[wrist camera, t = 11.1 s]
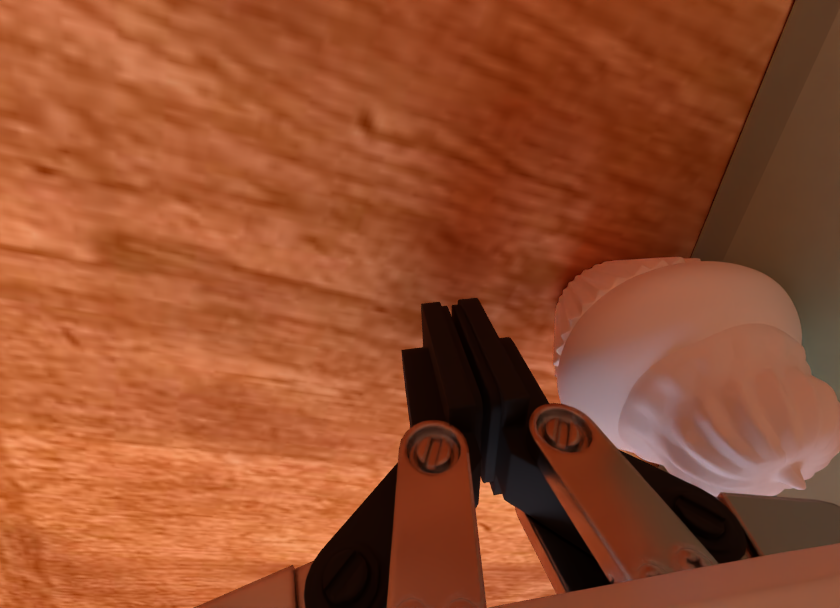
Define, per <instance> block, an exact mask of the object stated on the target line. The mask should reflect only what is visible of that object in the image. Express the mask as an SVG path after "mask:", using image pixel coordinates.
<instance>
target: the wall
mask: <svg viewBox="0 0 840 608" xmlns="http://www.w3.org/2000/svg"><path fill="white" fill-rule="evenodd" d="M691 258H698V259H700V261H717V262H726V263H733V264H737V265H742V266H745V267H749V268H752V269H754V270H757V271H759V272H761V273H764V274H765V275H767V276H769V277H770V278H772V279H773V280H774V281H776V282H777V283H778V284H779V285H780V286H781V287H782V288H783V289H784V290H785V291H786V292H787V294H788V295H789V297H790V298H791V300H792V302H793V304H794V306H795V308H796V310H797V313H798V316H799V319H800V324H801V329H802V344H801V345H802V346H803V347H804V350H805V354H806V362H807V363H808V365H809V366H810V369H811V375H812V376H814V377H816V378H818V379H820V380H822V381H824V382H826V383H827V384H828V385H829V386H830V387H832V388H833V390H834V392H835V394H836V396H837V400H838V402H839V403H840V0H795V3H794V5H793V7H792V10H791V12H790V15H789V17H788V20H787V22H786V25H785V27H784V30H783V32H782V35H781V37H780V39H779V42H778V44H777V47H776V49H775V52H774V54H773V57H772V59H771V62H770V64H769V67H768V69H767V71H766V74H765V76H764V79H763V81H762V84H761V86H760V89H759V91H758V94H757V96H756V99H755V101H754V103H753V106H752V108H751V111H750V113H749V116H748V118H747V121H746V123H745V126H744V128H743V131H742V133H741V135H740V138H739V140H738V143H737V145H736V148H735V150H734V153H733V155H732V158H731V160H730V162H729V165H728V167H727V170H726V172H725V175H724V177H723V180H722V182H721V185H720V187H719V190H718V192H717V194H716V197H715V199H714V202H713V204H712V207H711V209H710V212H709V214H708V217H707V219H706V222H705V224H704V226H703V229H702V231H701V234H700V236H699V239H698V241H697V244H696V246H695V249H694V251H693V254H692V256H691ZM804 481H805V483H806V488H805V490H798V489H795V488H791V489H784V490H783V491H782V492H781V493H779V494H777V495H776V496H777V497H790V498H803V499H816V500H821V501H826V502H830V503H834V504H836V505H838V506H840V451H839V453H838V454H837V455H835V456H834V457H833V458H832V459H831V461H830V463H829V464H828V465H827V466H826V467H825V468H823V469H822V470H820V471H818V472H815V474H814V476H813V477H812V478H810V479H807V480H804Z"/></svg>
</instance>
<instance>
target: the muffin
mask: <svg viewBox="0 0 840 608" xmlns="http://www.w3.org/2000/svg"><path fill="white" fill-rule="evenodd" d="M801 344H802V329H801V324H800V319H799V316H798V313H797V310H796V308H795V306H794V304H793V302H792V300H791V298H790V297H789V295H788V294H787V292H786V291H785V290H784V289H783V288H782V287H781V286H780V285H779V284H778V283H777V282H776V281H774V280H773V279H772V278H770V277H769V276H767V275H765V274H764V273H761V272H759V271H757V270H754V269H752V268H749V267H745V266H742V265H737V264H733V263H726V262H717V261H700V259H698V258H682V257H664V258H646V259H630V260H613V261H605V262H603V263H602V264H595V265H594V266H593V267H592V268H591V269H589V270H584V271H583V272H582V274H581V275H576V276H575V278H574V280H573V281H571V282H569V283H568V287H567V288H565V289H564V290H563V294H562V295H561V296H560V297H559V303H558V304H557V305H556V312H555V327H554V351H553V364H554V365H555V377H557V387H558V393H559V398H560V401H561V404H565V405H568V406H571V407H574V408H576V409H578V410H580V411H582V412H583V413H585V414H586V415H587V416H588V417H589V418H590V419H591V420H593V422H594V423H595V424H596V425H597V426H598V427H599V428H600V429H601V431H602V432H603V433H604V434H605V435H606V436H607V437H608V438H609V440H610V441H611V442H612V443H613V444H614V445H615V446H616V448H618V449H621V450H625V451H629V452H633V453H635V454H636V455H637V456H639V457H640V458H642V459H643V460H646V461H649V462H653V463H656V464H660V465H663V466H664V467H665V468H666V470H667V471H668V472H669V473H670V474H671V475H673V476H676V477H678V478H680V479H682V480H684V481H686V482H688V483H690V484H693V485H695V486H697V487H699V488H701V489H703V490H704V491H706V492H708V493H709V494H711V495H713V496H715V497H717V496H718V495H719V493H720V492H725V493H738V494H751V495H764V496H775V495H777V494H779V493H781V492H782V491H783V490H784V489H791V488H795V489H798V490H805V488H806V483H805V481H804V480H807V479H810V478H812V477H813V476H814V474H815V472H818V471H820V470H822V469H823V468H825V467H826V466H827V465H828V464H829V463H830V461H831V459H832V458H833V457H834V456H835V455H837V454H838V453H839V451H840V403H839V402H838V400H837V396H836V394H835V392H834V390H833V388H832V387H830V386H829V385H828V384H827V383H826V382H824V381H822V380H820V379H818V378H816V377H814V376H812V375H811V369H810V366H809V365H808V363H807V362H806V354H805V350H804V347H803V346H802V345H801Z"/></svg>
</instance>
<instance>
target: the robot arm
mask: <svg viewBox="0 0 840 608" xmlns="http://www.w3.org/2000/svg"><path fill="white" fill-rule="evenodd" d="M421 314H422V332H423V347H422V348H414V349H406V350H402V361H403V371H404V381H405V389H406V397H407V405H408V413H409V420H410V429H409V430H408V431H407V432H406V433H405V435H404V436H403V438H402V439H401V443H400V447H399V456H398V463H397V464H396V465H395V466H394V468H393V469H392V470H391V471H390V472H389V473H388V474H387V476H386V477H385V478H384V479H383V480H382V481H381V482H380V484H379V485H378V486H377V487H376V488H375V489H374V490H373V492H372V493H371V494H370V495H369V496H368V497H367V499H366V500H365V501H364V502H363V503H362V504H361V505H360V507H359V508H358V509H357V510H356V511H355V512H354V513H353V515H352V516H351V517H350V518H349V519H348V520H347V521H346V523H345V524H344V525H343V526H342V527H341V528H340V530H339V531H338V532H337V533H336V534H335V535H334V536H333V538H332V539H331V540H330V541H329V542H328V543H327V544H326V546H325V547H324V548H323V549H322V550H321V551H320V553H319V554H318V556H317V557H316V559H315V560H314V561H312V562H310V563H307V564H305V565H303V566H301V567H298V568H296V569H295V568H294V566H293V565H291V566H289V567H287V568H284V569H282V570H280V571H277V572H275V573H273V574H271V575H268V576H266V577H264V578H261V579H259V580H257V581H254V582H252V583H250V584H247V585H245V586H243V587H240V588H238V589H236V590H234V591H231V592H229V593H227V594H224V595H222V596H220V597H217V598H215V599H213V600H210V601H208V602H206V603H203V604H201V605H199V606H197V607H194V608H487V607H486V599H485V590H484V581H483V572H482V563H481V555H480V546H479V537H478V528H477V519H476V510H475V508H476V507H477V505H478V501H479V488H480V475H481V478H482V481H483V483H486V482H490V485H491V488H492V491H493V494H494V495H497V494H503V497H504V500H506V501H507V502H509V503H510V504H512V505H513V506H515V510H516V513H517V516H518V518H519V520H520V522H521V524H522V526H523V528H524V530H525V532H526V534H527V536H528V538H529V540H530V542H531V544H532V546H533V548H534V550H535V552H536V554H537V556H538V558H539V560H540V562H541V564H542V566H543V568H544V570H545V572H546V574H547V576H548V578H549V580H550V582H551V584H552V586H553V588H554V590H555V592H556V594H557V595H552V596H547V597H541V598H536V599H531V600H526V601H520V602H515V603H510V604H505V605H500V606H494V607H489V608H840V506H838V505H836V504H834V503H830V502H826V501H821V500H816V499H803V498H790V497H777V496H764V495H751V494H738V493H725V492H720V493H719V495H718V496H717V497H715V496H713V495H711V494H709V493H708V492H706V491H704V490H703V489H701V488H699V487H697V486H695V485H693V484H690V483H688V482H686V481H684V480H682V479H680V478H678V477H676V476H673V475H671V474H669V473H667V472H665V471H663V470H661V469H659V468H656V467H654V466H652V465H650V464H648V463H646V462H644V461H642V460H639V459H637V458H635V457H633V456H631V455H629V454H627V453H624V452H622V451H620V450H618V449H617V448H616V446H615V445H614V444H613V443H612V442H611V441H610V440H609V438H608V437H607V436H606V435H605V434H604V433H603V432H602V431H601V429H600V428H599V427H598V426H597V425H596V424H595V423H594V422H593V420H591V419H590V418H589V417H588V416H587V415H586V414H585V413H583V412H582V411H580V410H578V409H576V408H574V407H571V406H568V405H565V404H558V403H551V404H549V402H548V400H547V399H546V397H545V395H544V394H543V392H542V390H541V388H540V387H539V385H538V383H537V382H536V380H535V378H534V376H533V375H532V373H531V371H530V370H529V368H528V366H527V364H526V363H525V361H524V359H523V358H522V356H521V354H520V352H519V351H518V349H517V347H516V346H515V344H514V342H513V341H512V339H511V338H509V337H505V338H499V337H498V335H497V333H496V331H495V329H494V328H493V326H492V324H491V322H490V320H489V318H488V316H487V314H486V313H485V311H484V309H483V307H482V305H481V303H480V301H479V300H478V298H469V299H460V300H458V305H452V317H451V314H450V311H449V309H448V306H441V303H440V302H433V303H424V304H421Z"/></svg>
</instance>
